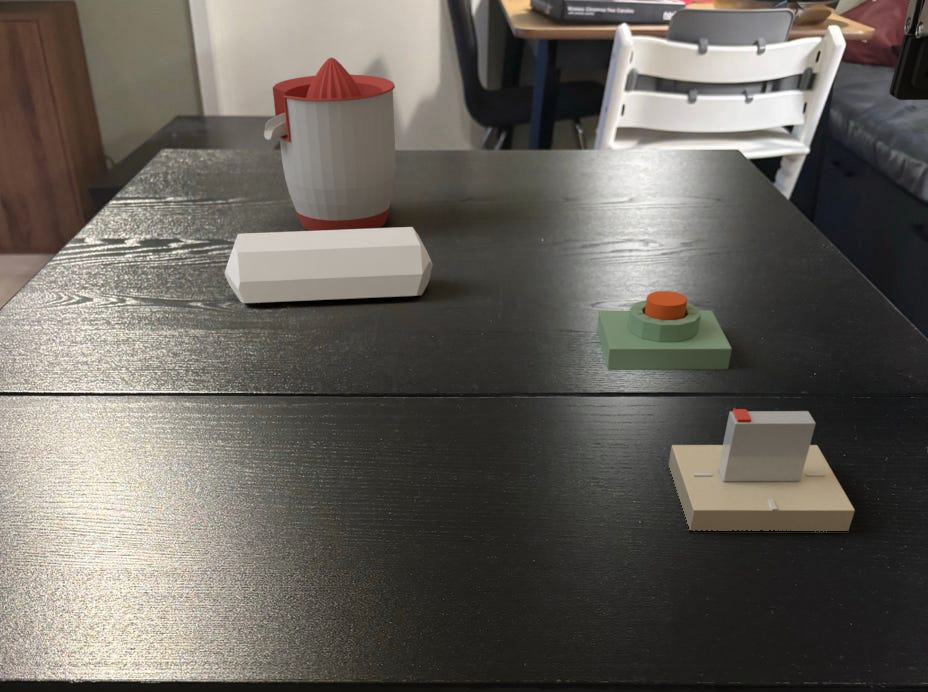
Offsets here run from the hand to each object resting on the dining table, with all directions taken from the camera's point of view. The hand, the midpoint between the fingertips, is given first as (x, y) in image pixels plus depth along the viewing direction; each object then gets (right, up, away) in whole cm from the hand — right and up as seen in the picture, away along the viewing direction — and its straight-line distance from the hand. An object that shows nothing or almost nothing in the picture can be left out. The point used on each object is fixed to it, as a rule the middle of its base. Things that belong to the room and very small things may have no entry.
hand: (912, 97), depth 71 cm
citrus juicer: (-51, +16, +59) cm, 79 cm away
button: (-14, -9, +23) cm, 28 cm away
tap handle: (-11, -29, +2) cm, 31 cm away
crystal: (-49, -1, +39) cm, 63 cm away
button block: (-14, -11, +26) cm, 31 cm away
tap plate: (-11, -30, +4) cm, 32 cm away
